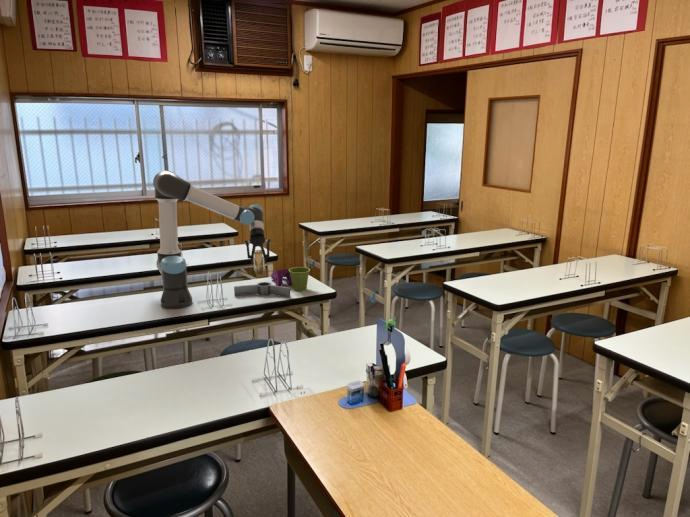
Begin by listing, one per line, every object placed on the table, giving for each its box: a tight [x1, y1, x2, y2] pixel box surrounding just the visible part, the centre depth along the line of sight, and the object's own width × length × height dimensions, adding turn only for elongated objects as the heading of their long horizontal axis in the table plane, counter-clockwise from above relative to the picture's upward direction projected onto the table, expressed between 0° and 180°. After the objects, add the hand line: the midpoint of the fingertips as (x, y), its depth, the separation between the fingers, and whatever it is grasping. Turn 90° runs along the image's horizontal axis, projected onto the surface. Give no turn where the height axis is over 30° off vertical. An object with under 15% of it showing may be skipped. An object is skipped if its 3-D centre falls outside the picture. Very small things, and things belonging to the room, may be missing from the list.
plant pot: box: [288, 266, 311, 292], centre depth 273 cm, size 12×12×11 cm
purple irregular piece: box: [270, 268, 293, 287], centre depth 286 cm, size 10×8×18 cm
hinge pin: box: [254, 249, 264, 275], centre depth 260 cm, size 4×4×12 cm
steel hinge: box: [233, 281, 291, 298], centre depth 266 cm, size 30×10×5 cm, turn 87°
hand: (259, 269), depth 257 cm, fingers closed on hinge pin, 4 cm apart
